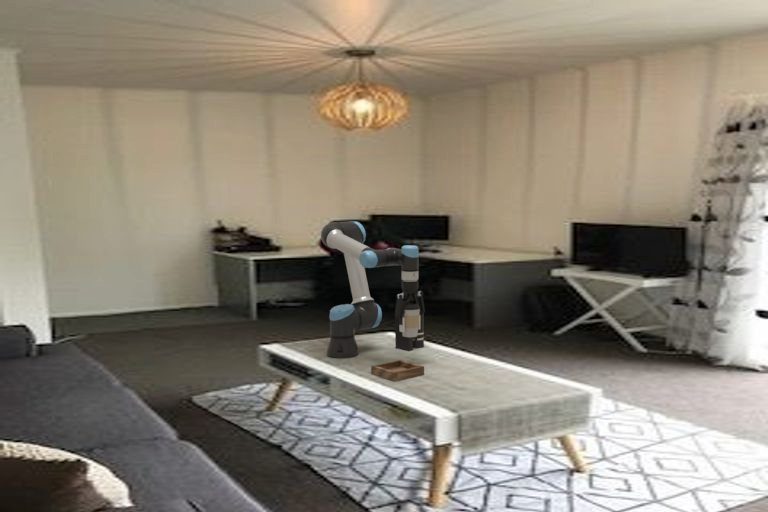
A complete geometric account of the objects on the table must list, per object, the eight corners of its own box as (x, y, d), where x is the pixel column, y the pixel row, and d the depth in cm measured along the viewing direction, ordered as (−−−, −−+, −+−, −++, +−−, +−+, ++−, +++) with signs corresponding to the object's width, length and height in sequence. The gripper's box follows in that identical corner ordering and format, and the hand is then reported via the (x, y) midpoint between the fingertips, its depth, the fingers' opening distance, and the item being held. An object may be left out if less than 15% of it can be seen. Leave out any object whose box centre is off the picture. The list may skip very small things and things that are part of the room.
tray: (371, 373, 296) (371, 365, 296) (400, 367, 306) (400, 359, 306) (394, 381, 284) (394, 373, 283) (424, 374, 293) (424, 366, 293)
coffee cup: (420, 333, 316) (420, 301, 314) (419, 338, 307) (419, 304, 305) (400, 333, 317) (400, 300, 315) (399, 337, 308) (399, 304, 306)
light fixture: (428, 346, 346) (428, 311, 345) (409, 351, 337) (409, 314, 335) (414, 343, 353) (413, 309, 352) (395, 348, 344) (394, 312, 342)
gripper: (396, 283, 299) (396, 335, 302) (433, 279, 313) (433, 328, 315) (386, 281, 305) (386, 332, 308) (422, 277, 318) (422, 325, 321)
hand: (409, 330), depth 311 cm, fingers closed on coffee cup, 8 cm apart
